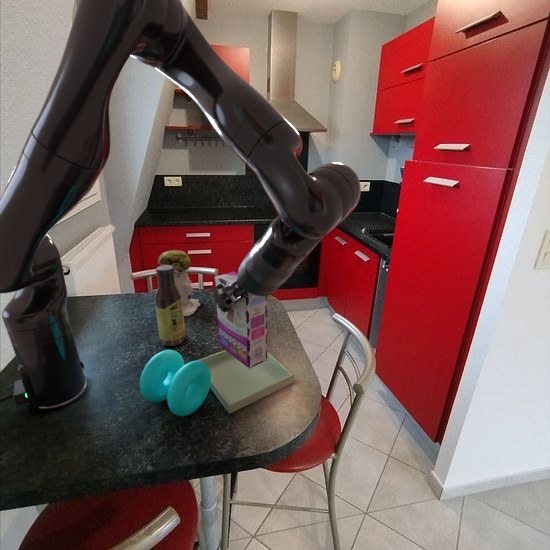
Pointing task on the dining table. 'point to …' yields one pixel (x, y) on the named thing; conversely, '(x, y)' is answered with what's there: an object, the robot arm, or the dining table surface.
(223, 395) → the tray
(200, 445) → the dining table surface
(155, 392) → the turquoise spool
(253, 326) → the candy bar box
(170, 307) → the sauce bottle
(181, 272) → the green-topped white figurine
